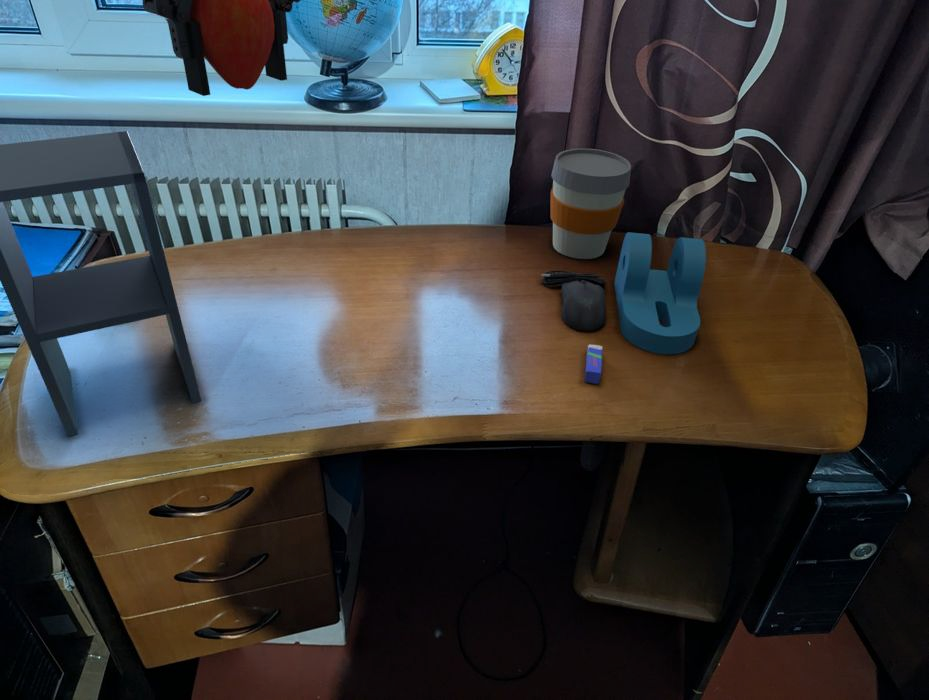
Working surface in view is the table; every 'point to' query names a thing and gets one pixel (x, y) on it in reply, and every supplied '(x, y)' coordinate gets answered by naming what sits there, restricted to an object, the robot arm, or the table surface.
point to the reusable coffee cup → (586, 200)
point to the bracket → (659, 294)
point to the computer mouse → (580, 298)
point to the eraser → (593, 364)
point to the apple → (235, 37)
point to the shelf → (90, 288)
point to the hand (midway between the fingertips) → (239, 84)
